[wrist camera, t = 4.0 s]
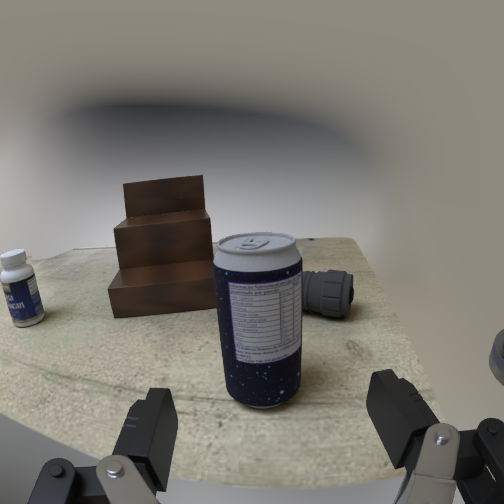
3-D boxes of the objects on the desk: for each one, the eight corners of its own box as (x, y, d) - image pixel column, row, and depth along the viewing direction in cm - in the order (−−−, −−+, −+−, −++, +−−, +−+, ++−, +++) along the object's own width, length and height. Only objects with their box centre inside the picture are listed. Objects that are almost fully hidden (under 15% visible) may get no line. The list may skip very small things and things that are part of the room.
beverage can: (309, 377, 24) (312, 232, 20) (283, 423, 19) (282, 255, 16) (247, 364, 26) (238, 229, 23) (213, 402, 21) (192, 248, 18)
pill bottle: (8, 328, 31) (-12, 260, 28) (22, 312, 36) (6, 250, 33) (37, 327, 32) (18, 255, 29) (50, 310, 37) (34, 245, 34)
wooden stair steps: (209, 264, 56) (202, 175, 52) (222, 307, 38) (212, 175, 34) (134, 272, 53) (123, 183, 49) (114, 318, 35) (92, 189, 31)
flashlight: (354, 306, 36) (357, 263, 34) (348, 327, 31) (351, 279, 30) (241, 292, 42) (238, 254, 41) (221, 308, 37) (217, 266, 36)
